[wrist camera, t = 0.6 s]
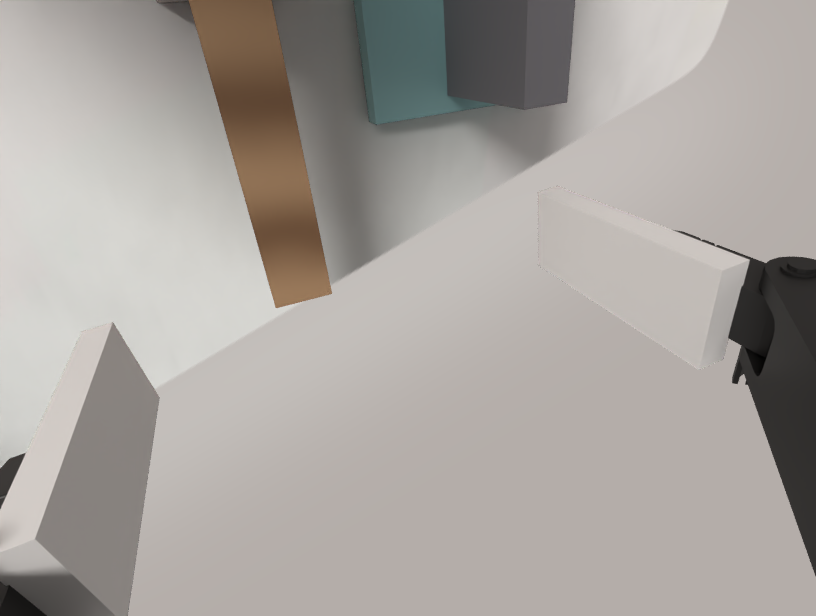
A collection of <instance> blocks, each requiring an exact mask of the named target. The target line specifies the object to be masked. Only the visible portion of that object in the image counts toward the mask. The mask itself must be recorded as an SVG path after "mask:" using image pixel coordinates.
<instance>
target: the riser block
mask: <svg viewBox="0 0 816 616" xmlns="http://www.w3.org/2000/svg"><path fill="white" fill-rule="evenodd" d="M156 1H157V2H158V3H166V2H179V1H189V0H156Z"/></svg>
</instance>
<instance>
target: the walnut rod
mask: <svg viewBox="0 0 816 616" xmlns="http://www.w3.org/2000/svg"><path fill="white" fill-rule="evenodd" d="M189 4H190V7H191V11H192V14H193V18H194V21H195V25H196V28H197V32H198V35H199V39H200V42H201V46H202V49H203V53H204V57H205V60H206V64H207V67H208V71H209V74H210V78H211V81H212V85H213V88H214V92H215V95H216V99H217V102H218V106H219V109H220V113H221V116H222V120H223V123H224V127H225V131H226V134H227V138H228V141H229V145H230V148H231V152H232V155H233V159H234V162H235V166H236V169H237V173H238V176H239V180H240V183H241V187H242V190H243V194H244V197H245V201H246V204H247V208H248V212H249V215H250V219H251V222H252V226H253V229H254V233H255V236H256V240H257V243H258V247H259V250H260V254H261V257H262V261H263V264H264V268H265V271H266V275H267V278H268V282H269V286H270V289H271V293H272V296H273V300H274V303H275V307H276V308H279V307H283V306H287V305H290V304H294V303H298V302H302V301H306V300H310V299H314V298H318V297H322V296H325V295H329V294H332V291H331V286H330V282H329V277H328V272H327V267H326V262H325V257H324V252H323V248H322V243H321V238H320V233H319V228H318V223H317V218H316V214H315V209H314V204H313V199H312V194H311V189H310V184H309V180H308V175H307V170H306V165H305V160H304V155H303V150H302V146H301V141H300V136H299V131H298V126H297V121H296V116H295V112H294V107H293V102H292V97H291V92H290V87H289V82H288V78H287V73H286V68H285V63H284V58H283V53H282V49H281V44H280V39H279V34H278V29H277V24H276V19H275V15H274V10H273V5H272V0H189Z"/></svg>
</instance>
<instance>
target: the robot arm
mask: <svg viewBox="0 0 816 616" xmlns="http://www.w3.org/2000/svg"><path fill="white" fill-rule="evenodd" d="M538 252H539V253H538V255H539V256H538V257H539V266H540V267H541V268H543V269H544V270H546V271H547V272H549V273H550V274H552V275H553V276H555V277H557V278H558V279H560V280H561V281H563V282H564V283H566V284H567V285H569V286H570V287H572V288H574V289H575V290H577V291H578V292H580V293H581V294H583V295H584V296H586V297H587V298H589V299H590V300H592V301H593V302H595V303H597V304H598V305H600V306H601V307H603V308H604V309H606V310H607V311H609V312H610V313H612V314H614V315H615V316H616V317H618V318H620V319H621V320H623V321H624V322H626V323H627V324H629V325H630V326H632V327H633V328H635V329H636V330H638V331H640V332H641V333H643V334H644V335H646V336H647V337H649V338H650V339H652V340H653V341H655V342H657V343H658V344H660V345H661V346H663V347H664V348H666V349H667V350H669V351H670V352H672V353H674V354H675V355H676V356H678V357H679V358H681V359H683V360H684V361H686V362H687V363H689V364H690V365H692V366H693V367H695V368H697V369H698V370H701V369H703V368H705V367H707V366H710V365H712V364H714V363H716V362H719V361H721V360H723V359H724V355H725V351H726V347H727V344H728V340H729V339H731V340H733V341H735V342H736V343H738V344H740V345H742V346H741V349H740V353H739V356H738V360H737V363H736V367H735V370H734V374H733V377H732V383H735V384H738V381H739V377H740V376H741V375H743V374H744V375H745V377H746V385H748V386H749V389H750V392H751V394H752V397H753V400H754V403H755V406H756V409H757V411H758V414H759V417H760V420H761V423H762V426H763V428H764V431H765V434H766V437H767V440H768V443H769V445H770V448H771V451H772V454H773V457H774V459H775V462H776V465H777V468H778V471H779V474H780V477H781V479H782V482H783V485H784V488H785V491H786V494H787V496H788V499H789V502H790V505H791V508H792V511H793V513H794V516H795V519H796V522H797V525H798V528H799V530H800V533H801V536H802V539H803V542H804V544H805V547H806V550H807V553H808V556H809V559H810V562H811V564H812V567H813V570H814V573H815V576H816V260H814V259H810V258H804V257H779V258H776V259H772V260H770V261H768V262H767V263H764V262H761V261H758V260H756V259H753V258H751V257H748V256H745V255H743V254H740V253H737V252H735V251H732V250H730V249H727V248H724V247H722V246H719V245H717V246H715V245H714V243H711V242H709V241H706V240H701V239H700V238H698V237H695V236H693V235H690V234H688V233H685V232H681V231H676V230H671V229H668V228H665V227H663V226H661V225H657V224H655V223H653V222H650V221H648V220H645V219H642V218H639V217H637V216H634V215H632V214H629V213H627V212H624V211H622V210H619V209H616V208H614V207H611V206H608V205H606V204H603V203H601V202H598V201H596V200H593V199H590V198H588V197H585V196H583V195H580V194H577V193H575V192H572V191H570V190H567V189H564V188H562V187H559V186H556V187H553V188H550V189H546V190H543V191H540V192H538ZM158 404H159V396H158V394H157V393H156V391H155V390H154V388H153V386H152V385H151V383H150V382H149V380H148V378H147V377H146V375H145V373H144V372H143V370H142V369H141V367H140V365H139V364H138V362H137V360H136V359H135V357H134V356H133V354H132V352H131V351H130V349H129V347H128V346H127V344H126V343H125V341H124V339H123V338H122V336H121V335H120V333H119V331H118V330H117V328H116V326H115V325H114V323H113V322H112V323H108V324H105V325H102V326H99V327H95V328H92V329H89V330H85V331H82V332H81V334H80V337H79V339H78V341H77V343H76V345H75V347H74V350H73V352H72V354H71V356H70V358H69V360H68V363H67V365H66V367H65V369H64V371H63V374H62V376H61V378H60V380H59V382H58V384H57V387H56V389H55V391H54V393H53V395H52V398H51V400H50V402H49V404H48V406H47V408H46V411H45V413H44V415H43V417H42V419H41V422H40V424H39V426H38V428H37V430H36V432H35V435H34V437H33V439H32V441H31V443H30V446H29V448H28V450H27V452H26V453H24V454H22V455H19V456H16V457H13V458H10V459H9V460H8V461H7V462H6V463H5V464H4V465H3V466H2V467H1V469H0V616H128V610H129V603H130V596H131V589H132V582H133V575H134V568H135V561H136V555H137V548H138V541H139V534H140V527H141V521H142V514H143V507H144V500H145V493H146V486H147V479H148V473H149V466H150V459H151V452H152V445H153V438H154V432H155V425H156V418H157V411H158Z"/></svg>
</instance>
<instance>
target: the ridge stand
mask: <svg viewBox="0 0 816 616" xmlns="http://www.w3.org/2000/svg"><path fill="white" fill-rule="evenodd" d="M354 7H355V14H356V22H357V30H358V38H359V45H360V53H361V61H362V69H363V76H364V84H365V92H366V100H367V107H368V115H369V122H371V123H374V124H376V125H377V124H383V123H389V122H396V121H402V120H408V119H414V118H420V117H426V116H432V115H438V114H444V113H451V112H457V111H463V110H469V109H475V108H481V107H487V106H493V105H501V106H507V107H512V108H518V109H523V110H525V109H531V108H537V107H543V106H549V105H555V104H560V103H566V102H567V97H568V84H569V71H570V59H571V46H572V33H573V21H574V8H575V0H354Z"/></svg>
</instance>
